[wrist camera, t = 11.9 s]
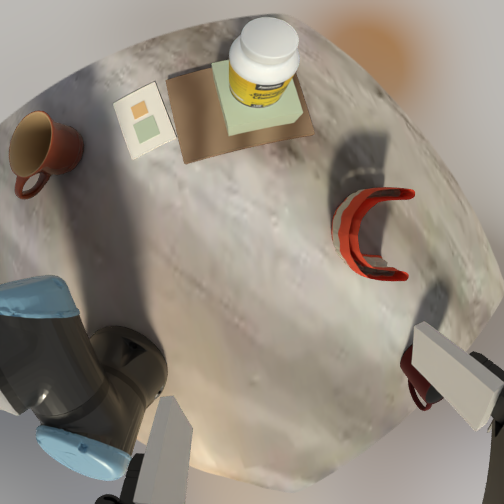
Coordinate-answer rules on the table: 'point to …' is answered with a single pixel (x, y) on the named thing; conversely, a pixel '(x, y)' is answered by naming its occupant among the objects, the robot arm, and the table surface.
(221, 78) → the brick
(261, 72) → the pill bottle
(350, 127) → the table surface
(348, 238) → the denture model
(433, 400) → the mug
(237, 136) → the plate
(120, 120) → the page
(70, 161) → the mug
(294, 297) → the table surface
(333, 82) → the table surface
